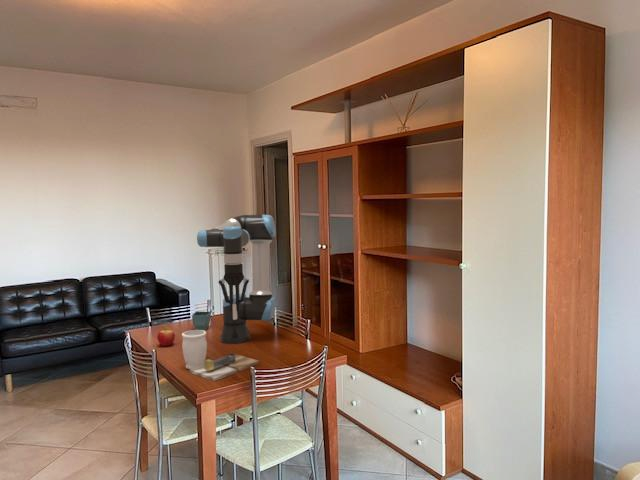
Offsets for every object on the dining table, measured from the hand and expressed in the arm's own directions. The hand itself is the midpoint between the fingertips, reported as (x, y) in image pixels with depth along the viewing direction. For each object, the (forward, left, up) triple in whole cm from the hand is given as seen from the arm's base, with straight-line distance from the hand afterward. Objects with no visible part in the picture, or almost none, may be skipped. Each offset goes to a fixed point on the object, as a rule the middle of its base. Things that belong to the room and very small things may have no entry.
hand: (235, 318), depth 203 cm
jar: (-18, -8, -23) cm, 30 cm away
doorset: (-6, -1, -22) cm, 23 cm away
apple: (-55, +3, -23) cm, 60 cm away
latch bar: (-6, -4, -20) cm, 21 cm away
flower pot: (-65, +33, -23) cm, 76 cm away
